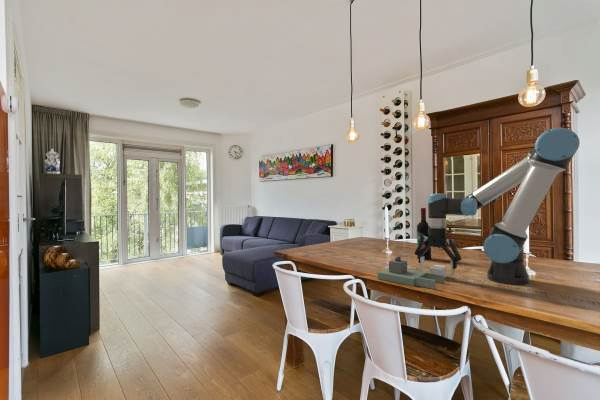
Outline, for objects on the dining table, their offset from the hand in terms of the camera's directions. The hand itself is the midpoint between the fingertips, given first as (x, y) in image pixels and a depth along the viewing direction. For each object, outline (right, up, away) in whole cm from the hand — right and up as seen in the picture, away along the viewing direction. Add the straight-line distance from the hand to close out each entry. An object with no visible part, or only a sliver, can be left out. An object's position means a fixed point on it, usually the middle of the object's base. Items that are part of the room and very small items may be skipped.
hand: (436, 272), depth 138 cm
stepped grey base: (-14, -2, -5) cm, 15 cm away
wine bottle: (+10, -1, +39) cm, 41 cm away
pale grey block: (0, -2, 0) cm, 2 cm away
